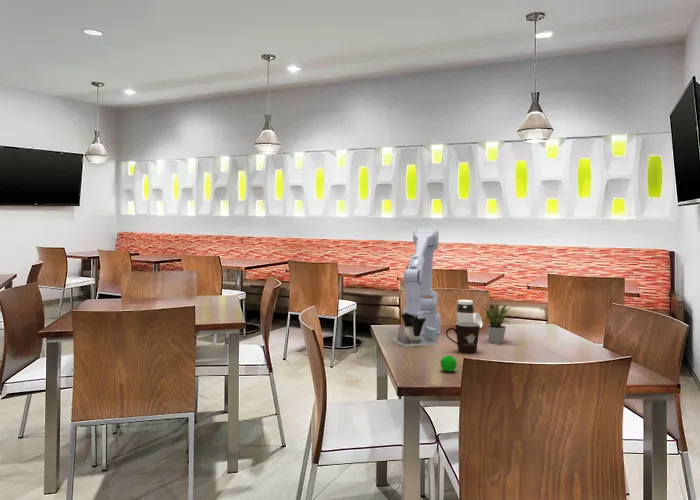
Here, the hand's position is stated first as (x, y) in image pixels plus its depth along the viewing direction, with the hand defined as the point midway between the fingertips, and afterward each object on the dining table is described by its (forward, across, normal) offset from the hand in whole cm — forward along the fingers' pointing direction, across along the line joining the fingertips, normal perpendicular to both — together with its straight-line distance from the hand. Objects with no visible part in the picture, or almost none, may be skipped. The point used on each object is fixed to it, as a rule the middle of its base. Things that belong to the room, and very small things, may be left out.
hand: (413, 334), depth 202 cm
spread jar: (+4, -23, +38) cm, 44 cm away
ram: (+2, 0, +8) cm, 8 cm away
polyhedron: (+4, +40, -6) cm, 41 cm away
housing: (+2, 0, 0) cm, 2 cm away
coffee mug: (+4, +18, +12) cm, 22 cm away
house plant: (+4, +9, +33) cm, 34 cm away
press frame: (+3, 0, +1) cm, 3 cm away
